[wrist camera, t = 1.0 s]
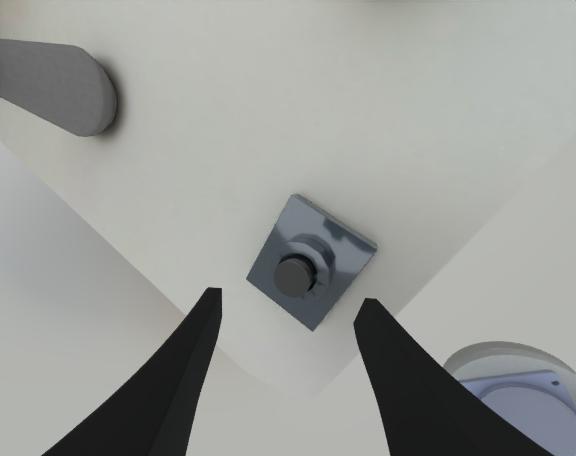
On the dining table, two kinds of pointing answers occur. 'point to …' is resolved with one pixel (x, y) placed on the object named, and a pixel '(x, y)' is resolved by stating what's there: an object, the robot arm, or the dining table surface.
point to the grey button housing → (311, 258)
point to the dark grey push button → (294, 276)
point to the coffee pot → (57, 85)
